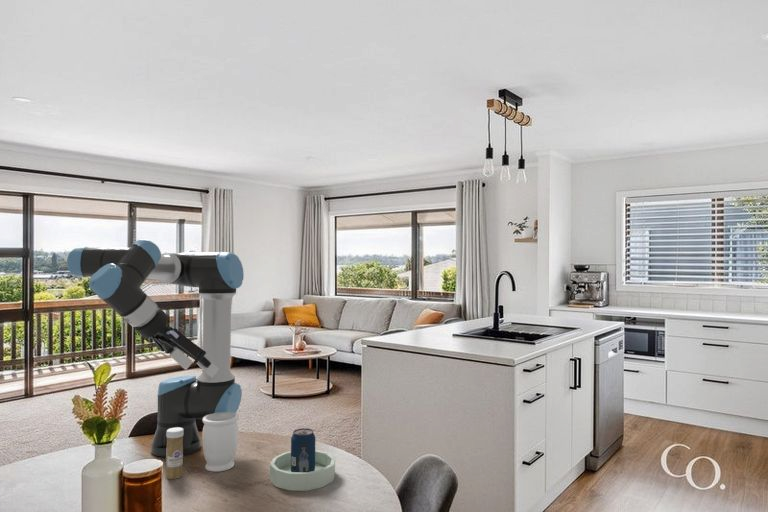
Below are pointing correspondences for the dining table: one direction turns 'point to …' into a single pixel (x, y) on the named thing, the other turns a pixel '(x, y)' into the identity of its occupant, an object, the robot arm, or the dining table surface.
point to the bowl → (302, 480)
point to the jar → (220, 440)
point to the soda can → (303, 450)
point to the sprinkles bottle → (174, 452)
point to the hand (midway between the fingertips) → (201, 369)
